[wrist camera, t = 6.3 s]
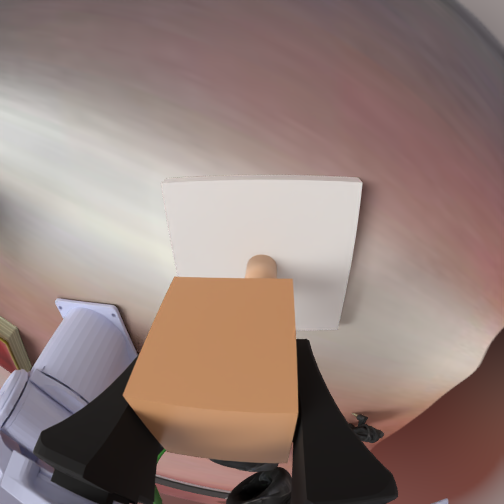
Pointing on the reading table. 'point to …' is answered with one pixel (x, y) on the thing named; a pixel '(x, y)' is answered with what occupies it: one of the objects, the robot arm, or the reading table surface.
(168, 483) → the smartphone
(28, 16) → the reading table surface
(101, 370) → the robot arm
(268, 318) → the tan wooden cube
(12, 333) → the hardcover book
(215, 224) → the post plate
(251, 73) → the reading table surface
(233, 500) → the headset
